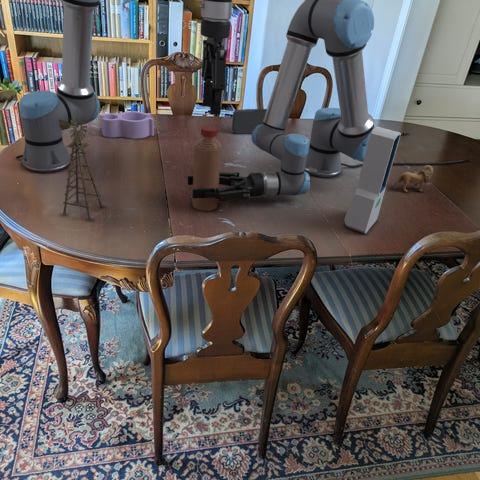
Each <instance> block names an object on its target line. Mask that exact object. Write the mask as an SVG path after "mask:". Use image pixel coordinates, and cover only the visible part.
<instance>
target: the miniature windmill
mask: <svg viewBox="0 0 480 480" xmlns="http://www.w3.org/2000/svg"><path fill="white" fill-rule="evenodd" d="M82 111H83V110H82ZM74 114H75V111H74ZM84 114H85V112H84ZM84 114H83V116H84ZM81 115H82V112H81ZM83 116H82V119H83ZM72 118H73V120H74V121H75V123H76V124H75V123H74V122H73V121H72V120H70V122H71V123H72V125H71V124H70V123H69V122H66V121H63V120H60V119H59V124H60V128H68V129H70V130H69V134H70V138H71V143H69V144H68V145H65V147H66V148H71V153H69V155H70V159H71V160H70V165H69V166H68V169H67V173H68V174H67V178H66V180H67V181H66V186H65V188H66V189H65V193H64V196H65V197H64V201H63V202H62V205H63V211H62V215H64V216H65V215H66V214H67V206H68V205H69V206H73V207H79V208H86V214H87V219H88V220H91V219H92V218H91V213H90V208H91V207H92V206H93V205H94V204H95V203H96V202H97V201H98V203H99V207H100V208H103V206H104V205H103V203H102V200H101V194H99V191H98V187H97V184H96V183H95V182H96V180H95V179H94V176H93V173H92V171H91V170H92V169H91V166H90V164H89V161H88V158H87V156H86V155H87V153H86V152H85V150H84V149H85V148H87V147H88V146H89V145H90V143H88V142H83V141H84V138H86V133H87V132H88V130H86V129H87V128H88V125H86V124H85V123H87V121H85V122H83V121H84V120H85V118H86V116H85V118H84V119H83V121H82V119H81V117H80V109H79V118H80V120H81V121H82V122H83V123H82V122H81V121H80V122H78V121H77V118H78V111H77V118H76V114H75V119H76V120H75V119H74V117H73V115H72ZM76 121H77V122H76ZM78 123H81V124H80V125H79V124H78ZM87 124H88V123H87ZM74 154H75V155H74ZM82 158H83V159H84V162H85V164H82ZM74 161H75V165H73V162H74ZM83 168H86V169H83ZM73 169H75V170H73ZM87 171H88V174H89V177H90V178H87V177H84V174H85V173H86V172H87ZM79 174H80V176H81V177H80V176H79ZM74 176H75V178H74V179H73V180H72V181H71V179H72V177H74ZM79 180H81V184H82V187H79ZM85 181H89V182H90V183H89V184H88V185H87V186H86V182H85ZM73 183H75V184H74V185H72V184H73ZM91 186H93V189H94V192H95V193H88V192H87V190H88V188H90V187H91ZM74 189H75V192H73V194H71V195H70V196H69V193H70V192H71V191H72V190H74ZM79 190H83V191H79ZM79 194H83V195H84V202H85V205H81V204H77V203H79V202H80V200H79V199H80V198H79ZM74 196H75V202H76V203H71V202H68V201H69V200H71V199H72V197H74ZM88 196H92V197H96V198H95V199H94V200H93V201H92V202H91V203H90V204H89V201H88Z"/></svg>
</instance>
